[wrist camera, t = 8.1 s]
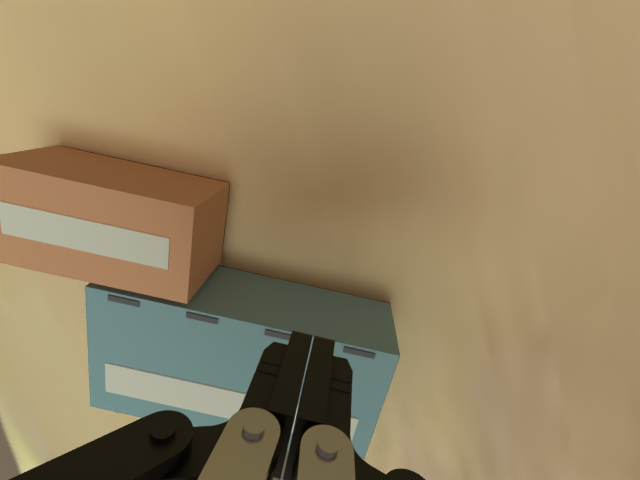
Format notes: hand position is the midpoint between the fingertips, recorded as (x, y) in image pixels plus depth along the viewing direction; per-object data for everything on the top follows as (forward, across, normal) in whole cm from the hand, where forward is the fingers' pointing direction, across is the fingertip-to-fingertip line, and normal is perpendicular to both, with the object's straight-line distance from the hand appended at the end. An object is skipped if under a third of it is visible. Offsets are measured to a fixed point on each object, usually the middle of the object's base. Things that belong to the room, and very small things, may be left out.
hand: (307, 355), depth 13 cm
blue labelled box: (+10, +4, +7) cm, 13 cm away
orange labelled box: (+10, +11, 0) cm, 15 cm away
